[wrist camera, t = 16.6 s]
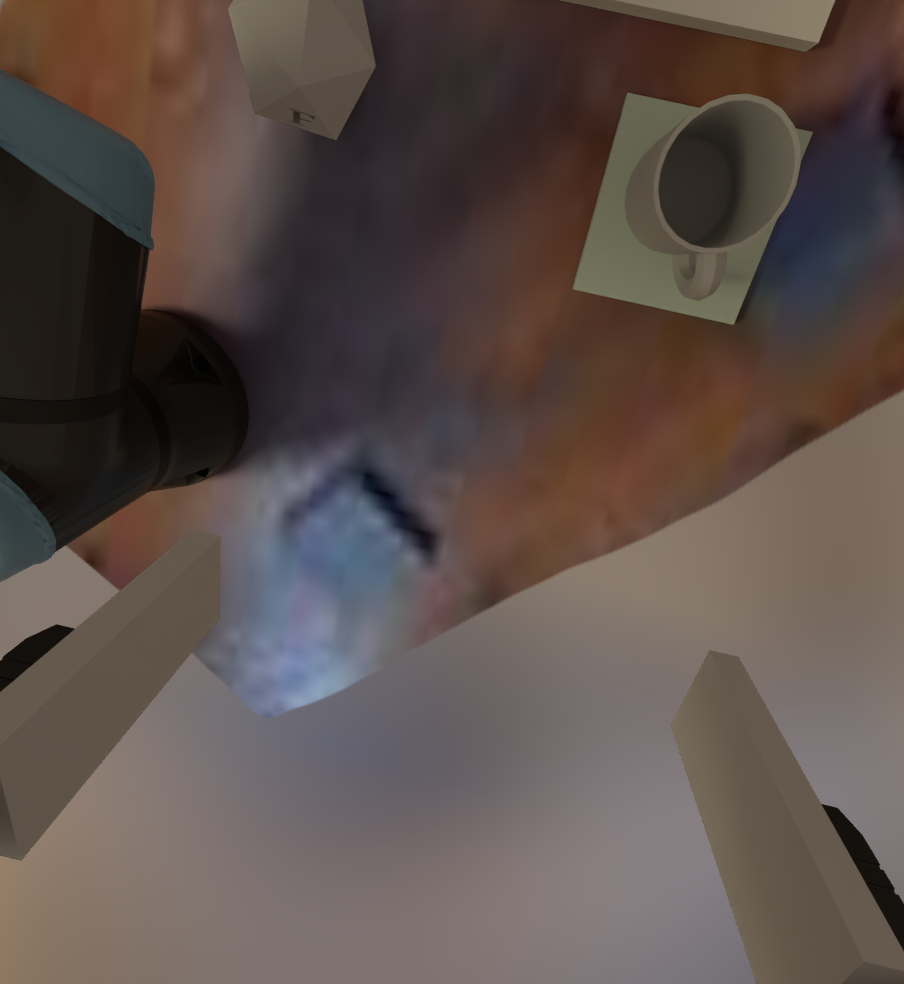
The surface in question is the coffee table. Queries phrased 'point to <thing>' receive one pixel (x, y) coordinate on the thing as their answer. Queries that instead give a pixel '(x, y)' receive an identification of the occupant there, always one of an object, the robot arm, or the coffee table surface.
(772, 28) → the beige flat frame
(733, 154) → the cup
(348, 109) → the die
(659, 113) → the coaster
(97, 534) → the coffee table surface
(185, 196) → the coffee table surface
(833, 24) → the coffee table surface
